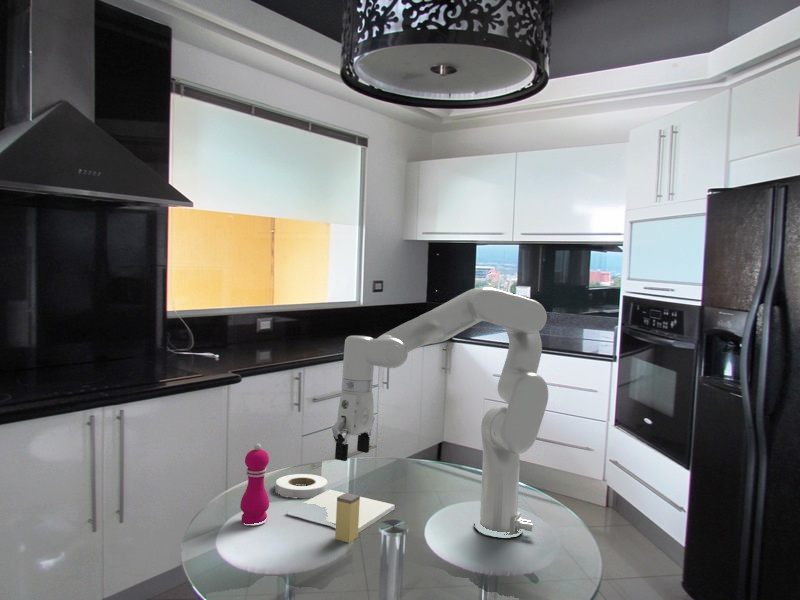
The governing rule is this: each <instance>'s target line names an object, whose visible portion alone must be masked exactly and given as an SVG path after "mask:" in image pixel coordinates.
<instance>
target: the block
mask: <svg viewBox="0 0 800 600" xmlns="http://www.w3.org/2000/svg"><path fill="white" fill-rule="evenodd" d="M344 493H345V494H343V495H341V496H339V497H337V510H336V528H335V532H334V533H335V534H334V535H335V537H334V538H336V539H335V540H337V541H342V542H344V543H351V542H352V541H354V540H355V539H357V538H358V537H359V533H358V525H359V503H360V497H361V496H360V495H357V494H354V493H353V494H352V493H350V492H349V493H348V492H344Z"/></svg>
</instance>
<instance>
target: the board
mask: <svg viewBox="0 0 800 600" xmlns="http://www.w3.org/2000/svg"><path fill="white" fill-rule="evenodd" d="M345 493H346V492H342V491H338V490H333V489H327V491H326V492H324V493H321V494H319V495H317V496H315V497H313V498H308V499H307V500H305V501H303V502H302V503H307V504H316V505H318V506H320V507H326V508H325V509H327V510H326V512H327V513H328V514H327V515H328V517H326V518H327V519H326V520H327V522H330V523H332V524H334V525H336V510H337V497H339V496H341V495H343V494H345ZM394 510H395V504H393V503H388V502H385V501H380V500H376V499H372V498H368V497H363V496H360V503H359V525H358V534H359V533H361V532H362V531H364V530H365V529H367V528H368V527H370V526H371V525H374V523H376V522H377V521H379V520H380V519H382V518H384V517H385V516H387V515H388V514H389V513H391V512H392V511H394ZM326 520H325V521H326Z"/></svg>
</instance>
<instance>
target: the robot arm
mask: <svg viewBox="0 0 800 600" xmlns="http://www.w3.org/2000/svg"><path fill="white" fill-rule="evenodd" d="M547 320H548V317H547V311H546V309H545V308H544V306H543V304H541V303H540V302H538V300H535V299H532V298H527V297H525V296H521V295H518V294H513V293H510V292H508V291H507V292H506V291H504V290H501V289H498V288H494V287H490V286H489V287H484V286H483V287H475V288H471V289H469V290H467V291H465V292H463V293H461V294H459V295H456V296H455V297H453V298H451V299H450V300H448V301H447V302H444V303H442V304H441V305H439V306H437V307H434V308H433V309H432V310H430V311H427V312H425V313H423V314H420V315H419V316H417V317H415V318H413V319H411V320H408V321H406V322H404V323H401V324H400V325H398V326H396V327H394V328H392V329H390V330H389V331H388V330H387V331H386V332H385V333H382V334H381V335H380V336H378V337H377V338H373V337H371V336H366V335H349V336H347V337H346V338H345V340H344V346H343V347H344V349H343V363H342V378H341V394H340V399H339V404H338V408H337V409H338V411H337V420H336V422H335V423H334V425H333V426H332V427H331V429H332V434H333V439H334V443H335V451H334V459H335V460H338V461H341V462H342V461H343V462H346V461H348V455H349V444H348V441H349V439H350V438H351V436H357V445H356V450H357V452H361V453H365V454H367V453H369V451H370V438H371V436H372V430H373V427H374V422H375V416H374V411H375V410H374V409H375V408H374V406H375V405H374V393H373V383H374V382H373V380H374V371H375V370H374V368H375V367H376V366H377V367H382V368H385V369H396V368H399V367H402V366H403V365H404V364H405V363H406V361H407V360H408V359H407V358H408V355H409V354H408V353H410V352H412V351H414V350H416V349H418V348H421V347H424V346H426V345H432V344H437V343H442V342H445V341H447V340H449V339H451V338H453V337H455V336H457V335H458V334H460V333H462V332H464V331H465V330H467V329H469V328H471V327H473V326H474V325H476V324H478V323H480V322H488V323H490V324H494V325H496V326H500V327H503V329H504V330H505V332H506V335H507V336H508V337H507V338H508V343H509V344H508V349H507V354H506V359H505V361H504V364H503V367H502V370H501V373H500V377H499V380H498V383H497V393H498V395H499V396H500V398H501V400H503V401H505V402H506V403H508V405H507V407H506V406H494V407H492V408H489V409H488V410H487V411H486V412H485V414H484V415H483V418H482V420H481V425H480V426H481V427H480V428H481V429H480V431H481V432H480V433H481V442H482V467H481V468H482V469H481V486H480V487H481V489H480V490H481V491H480V510H479V512H480V513H479V514H480V515H479V517H480V524H481V525H482V526H483V527H485V528H486V529H489V530H492V531H497V532H506V533H507V532H510V533H509V534H508V533H507V534H508V535H513V534H517V533H519V532H518V531H519V530H520V529H523V531H527V532H532V533H533V531H534V523H532V521H531V520H529V519H524V518H523V517H521V515H522V514H521V512H520V511H518V505H519V488H520V487H519V486H520V485H519V484H520V465H521V464H520V463H521V462H520V461H521V460H520V454H524V453H526V452H528V451H529V450H530V449H531V448H532V446H533V445H534V443H536V442H535V441H536V440H537V437H538V434H539V431H540V428H541V425H542V421H543V419H544V415H545V412H546V409H547V405H548V401H549V388H548V387H549V386H548V385H547V382H546V381H545V379H544V378H543V377H542V376H541V375H539V374H537V373H538V370H539V367H540V366H539V365H540V361H541V356H542V353H543V342H542V339H541V338H542V337H541V335H540V331H541V330H542V329H544V327H545V326H546V323H547ZM374 366H375V367H374ZM343 435H344V436H343ZM517 530H518V531H517ZM520 531H521V530H520ZM507 534H506V535H507ZM504 535H505V534H504Z"/></svg>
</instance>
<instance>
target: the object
mask: <svg viewBox="0 0 800 600" xmlns="http://www.w3.org/2000/svg"><path fill="white" fill-rule="evenodd" d="M296 484H306V485H308V486H306V485H298V486H296ZM326 491H328V480H327V479H326V478H325V477H323V476H321V475H317V474H311V473H310V474H309V473H296V474H295V473H294V474H288V475H284V476H281V477H279V478H278V479H276V481H275V493H276V494H277V493H278V494H277V495H279V494H280V495H279V496H281V495H283V496H282V497H284V496H288V497H297V498H304V499H311V498H312V497H315V496H317V495H319V494H321V493H324V492H326ZM288 497H287V498H288ZM297 498H296V499H297Z"/></svg>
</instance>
